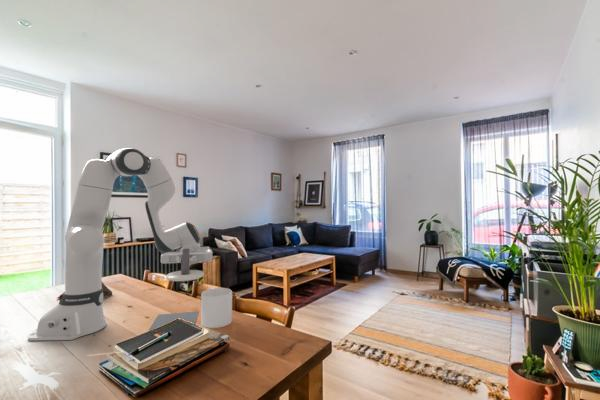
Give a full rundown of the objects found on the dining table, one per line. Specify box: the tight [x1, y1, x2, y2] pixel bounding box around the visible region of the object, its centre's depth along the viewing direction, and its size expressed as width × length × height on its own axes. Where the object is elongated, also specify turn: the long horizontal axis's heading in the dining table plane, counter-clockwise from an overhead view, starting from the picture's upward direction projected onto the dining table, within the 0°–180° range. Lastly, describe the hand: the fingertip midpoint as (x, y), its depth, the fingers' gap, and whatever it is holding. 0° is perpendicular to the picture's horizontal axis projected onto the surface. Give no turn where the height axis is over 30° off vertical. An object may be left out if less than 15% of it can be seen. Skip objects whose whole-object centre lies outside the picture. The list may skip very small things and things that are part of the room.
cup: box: [200, 287, 233, 329], centre depth 117 cm, size 12×12×12 cm
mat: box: [147, 310, 199, 332], centre depth 118 cm, size 16×16×1 cm
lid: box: [165, 248, 205, 282], centre depth 118 cm, size 14×14×11 cm
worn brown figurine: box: [102, 281, 113, 299], centre depth 146 cm, size 12×6×18 cm, turn 153°
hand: (185, 260), depth 117 cm, fingers closed on lid, 3 cm apart
